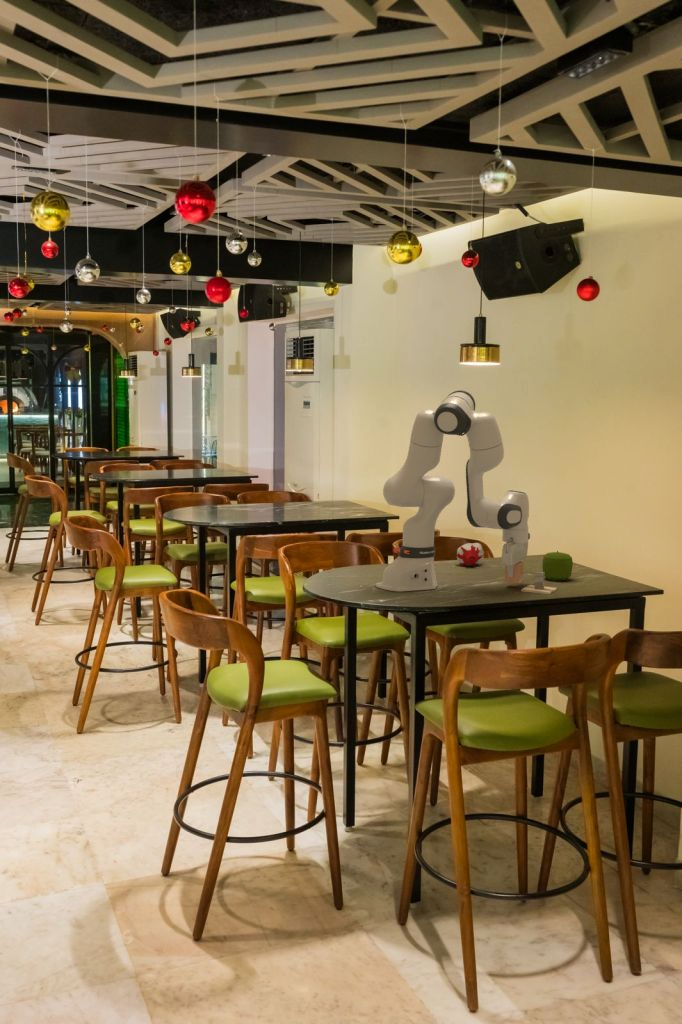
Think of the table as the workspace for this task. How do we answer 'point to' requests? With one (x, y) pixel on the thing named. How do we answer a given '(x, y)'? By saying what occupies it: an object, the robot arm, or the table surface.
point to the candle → (470, 554)
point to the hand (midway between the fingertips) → (513, 575)
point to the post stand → (539, 585)
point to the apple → (557, 566)
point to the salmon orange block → (515, 573)
